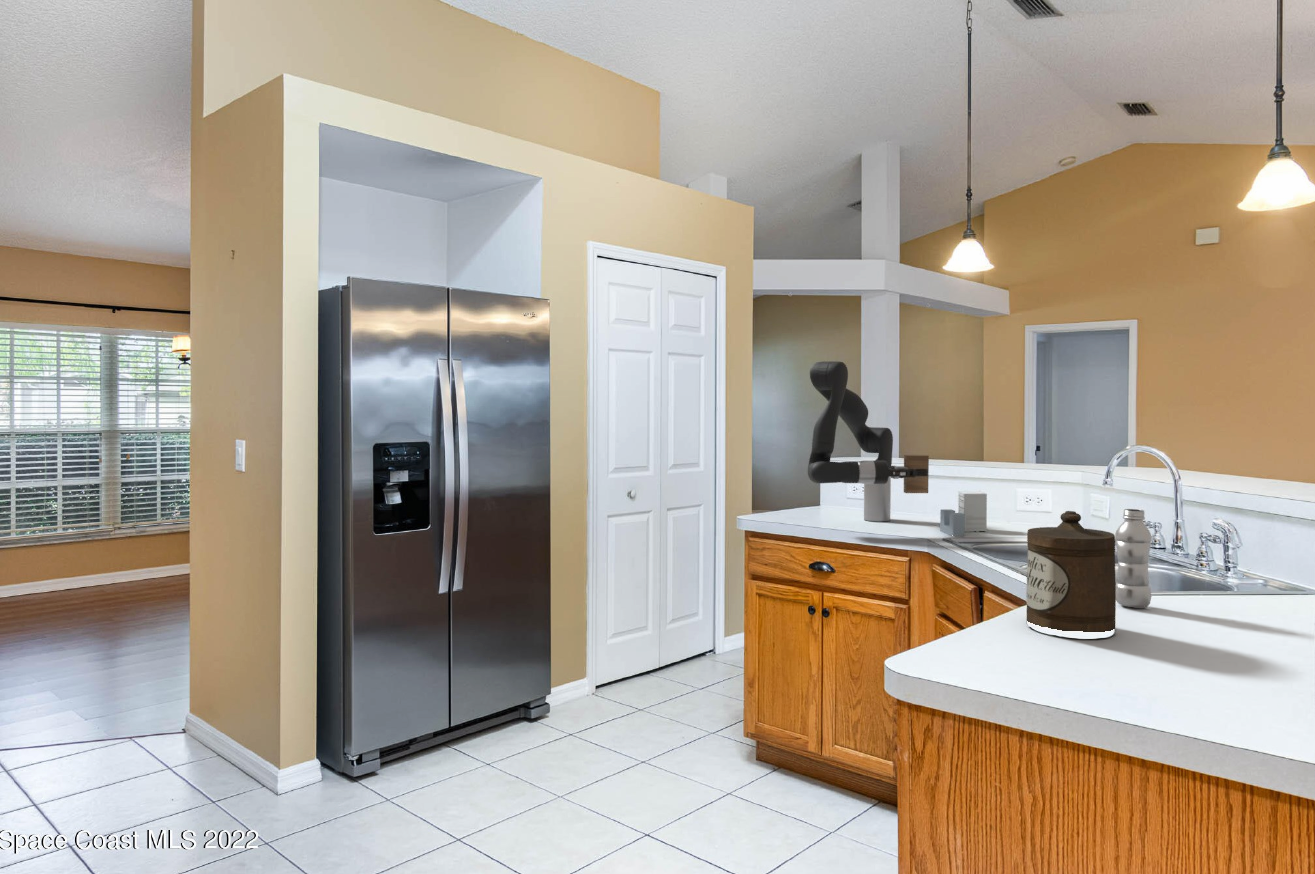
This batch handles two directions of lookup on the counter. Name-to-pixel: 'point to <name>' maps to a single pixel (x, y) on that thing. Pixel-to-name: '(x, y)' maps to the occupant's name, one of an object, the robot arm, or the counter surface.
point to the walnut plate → (918, 482)
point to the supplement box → (973, 510)
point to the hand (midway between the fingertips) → (925, 472)
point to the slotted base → (952, 522)
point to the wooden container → (1071, 577)
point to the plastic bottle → (1133, 560)
